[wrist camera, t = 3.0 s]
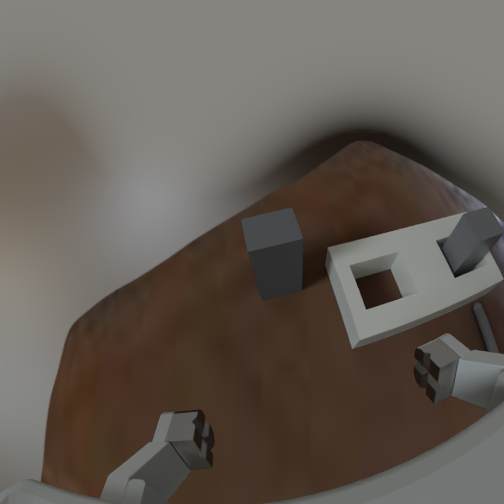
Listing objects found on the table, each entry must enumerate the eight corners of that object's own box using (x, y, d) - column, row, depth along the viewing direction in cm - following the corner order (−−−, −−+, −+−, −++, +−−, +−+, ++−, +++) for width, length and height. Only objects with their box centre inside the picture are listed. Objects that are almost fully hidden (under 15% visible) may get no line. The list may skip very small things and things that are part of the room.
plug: (302, 290, 28) (303, 238, 20) (262, 300, 28) (247, 251, 20) (294, 263, 29) (291, 206, 22) (256, 272, 29) (240, 217, 22)
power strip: (515, 376, 18) (566, 355, 10) (379, 454, 18) (415, 471, 11) (455, 229, 28) (483, 182, 21) (325, 265, 29) (332, 212, 21)
